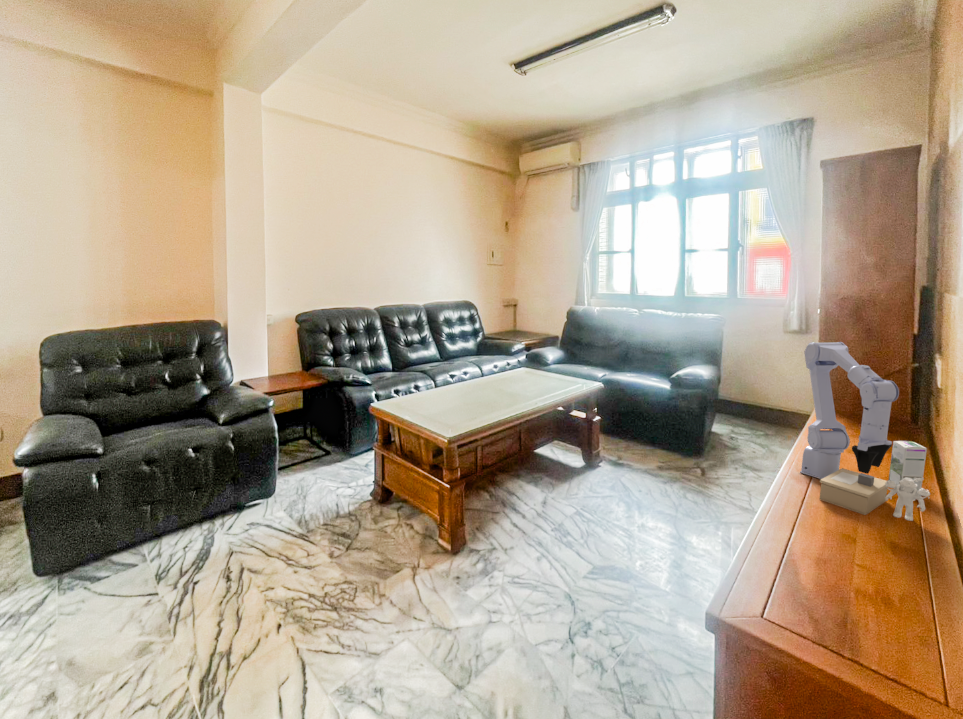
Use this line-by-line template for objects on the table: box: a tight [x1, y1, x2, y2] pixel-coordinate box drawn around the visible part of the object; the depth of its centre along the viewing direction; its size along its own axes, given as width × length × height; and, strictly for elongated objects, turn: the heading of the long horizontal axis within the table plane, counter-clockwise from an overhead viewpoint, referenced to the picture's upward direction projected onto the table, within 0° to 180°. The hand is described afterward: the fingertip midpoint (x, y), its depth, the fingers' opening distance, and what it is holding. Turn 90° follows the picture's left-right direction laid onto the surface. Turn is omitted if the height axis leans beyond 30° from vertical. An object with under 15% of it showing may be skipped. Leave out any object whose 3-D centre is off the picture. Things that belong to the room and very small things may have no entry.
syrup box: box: [888, 440, 928, 491], centre depth 138 cm, size 6×6×14 cm
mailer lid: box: [819, 467, 889, 498], centre depth 132 cm, size 12×15×3 cm
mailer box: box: [819, 483, 889, 516], centre depth 133 cm, size 11×14×5 cm
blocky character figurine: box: [885, 476, 931, 522], centre depth 123 cm, size 9×4×12 cm, turn 40°
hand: (869, 469), depth 130 cm, fingers open, 7 cm apart
